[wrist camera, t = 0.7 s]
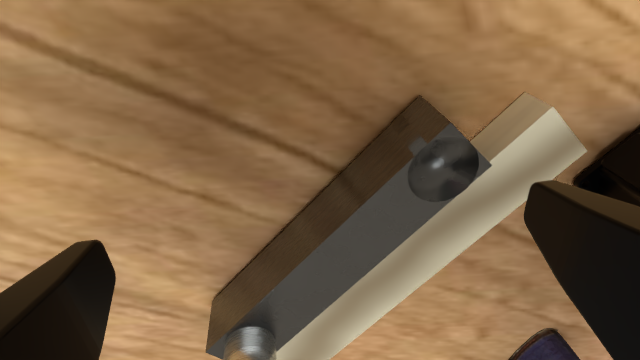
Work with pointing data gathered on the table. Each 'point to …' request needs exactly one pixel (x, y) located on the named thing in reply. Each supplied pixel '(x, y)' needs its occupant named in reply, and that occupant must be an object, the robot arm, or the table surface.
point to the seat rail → (449, 224)
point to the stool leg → (344, 233)
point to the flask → (545, 347)
